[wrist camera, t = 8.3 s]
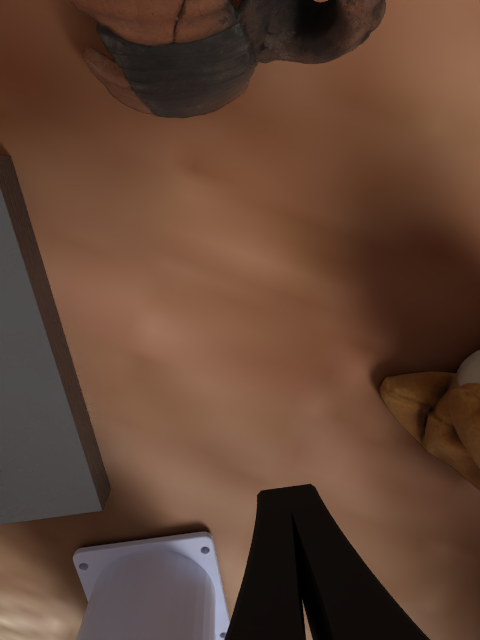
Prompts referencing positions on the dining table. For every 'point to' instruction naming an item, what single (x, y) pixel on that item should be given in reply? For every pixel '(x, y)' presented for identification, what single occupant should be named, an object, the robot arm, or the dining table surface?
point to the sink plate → (38, 385)
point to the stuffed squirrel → (441, 413)
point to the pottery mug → (214, 45)
